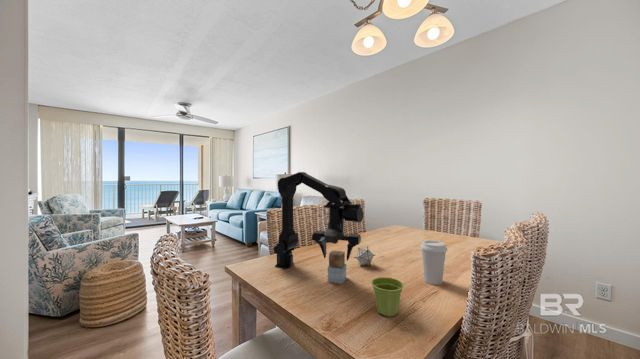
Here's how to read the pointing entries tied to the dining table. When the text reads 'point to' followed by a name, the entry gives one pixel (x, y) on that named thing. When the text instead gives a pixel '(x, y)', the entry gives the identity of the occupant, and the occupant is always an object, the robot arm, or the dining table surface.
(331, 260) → the walnut cube
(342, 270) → the slab top
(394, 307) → the plant pot
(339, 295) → the dining table surface
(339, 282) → the slab bottom
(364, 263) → the game die
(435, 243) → the coffee cup
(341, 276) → the slab middle
